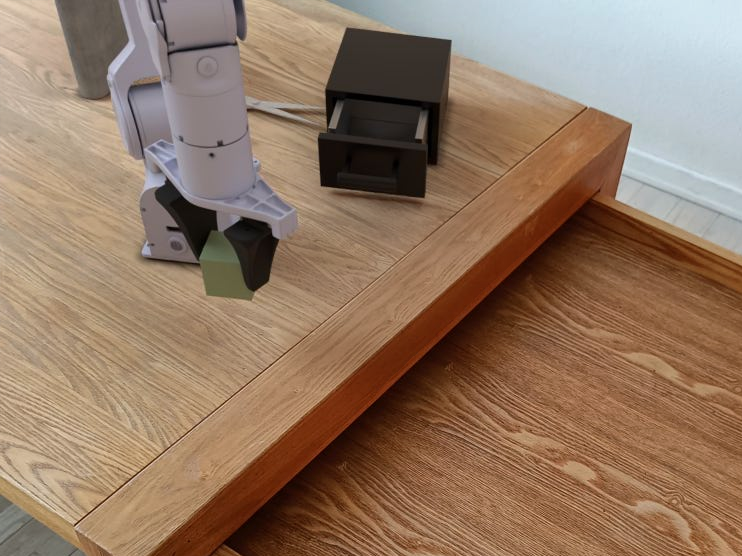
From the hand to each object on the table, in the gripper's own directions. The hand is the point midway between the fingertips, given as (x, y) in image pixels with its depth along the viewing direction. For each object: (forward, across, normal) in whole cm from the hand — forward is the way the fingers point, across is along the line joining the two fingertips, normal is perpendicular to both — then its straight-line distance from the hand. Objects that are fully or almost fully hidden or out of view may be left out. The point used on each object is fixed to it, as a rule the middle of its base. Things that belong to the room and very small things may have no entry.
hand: (233, 270), depth 77 cm
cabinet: (+7, +11, -37) cm, 40 cm away
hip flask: (+7, +44, -25) cm, 52 cm away
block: (+1, 0, 0) cm, 1 cm away
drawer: (+6, +6, -28) cm, 29 cm away
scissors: (+7, +26, -29) cm, 39 cm away
